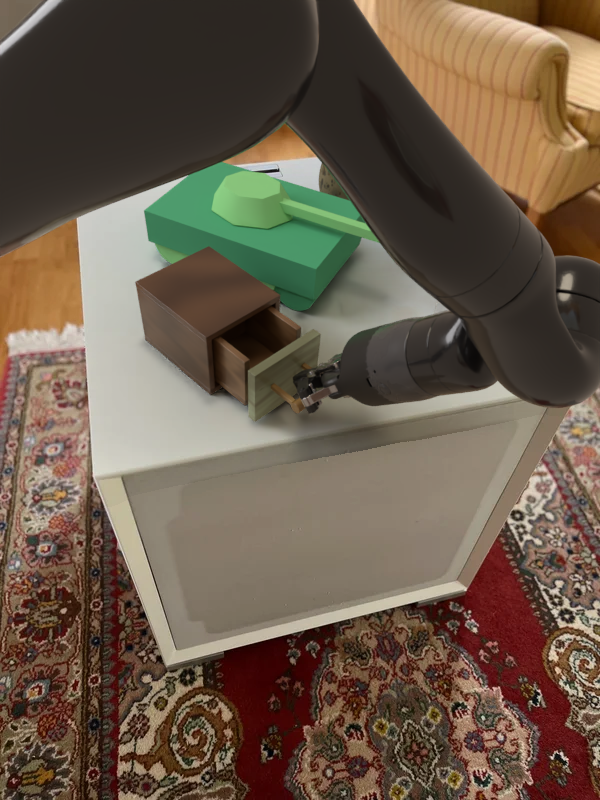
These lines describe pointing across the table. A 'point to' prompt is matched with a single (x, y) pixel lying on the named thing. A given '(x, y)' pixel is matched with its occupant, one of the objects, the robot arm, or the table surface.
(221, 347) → the drawer
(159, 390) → the table surface
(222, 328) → the cabinet
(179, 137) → the robot arm
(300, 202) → the toy tank
